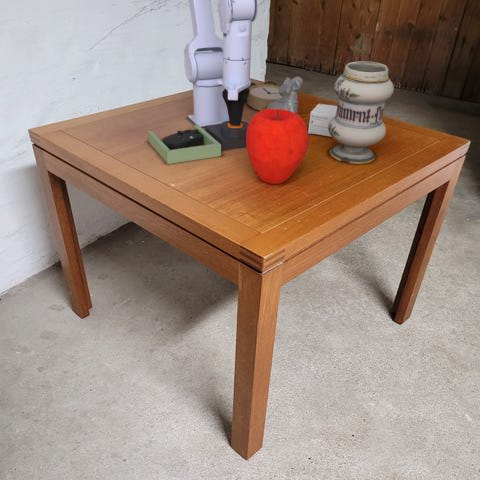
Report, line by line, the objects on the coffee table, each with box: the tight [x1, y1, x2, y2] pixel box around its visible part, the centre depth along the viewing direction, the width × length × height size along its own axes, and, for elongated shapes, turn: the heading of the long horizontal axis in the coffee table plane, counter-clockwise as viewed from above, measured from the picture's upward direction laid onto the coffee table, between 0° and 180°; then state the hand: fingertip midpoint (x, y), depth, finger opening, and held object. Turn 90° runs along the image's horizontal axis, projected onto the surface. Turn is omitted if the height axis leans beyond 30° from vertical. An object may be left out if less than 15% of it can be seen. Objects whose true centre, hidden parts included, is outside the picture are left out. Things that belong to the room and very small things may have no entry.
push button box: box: [204, 120, 250, 151], centre depth 115 cm, size 10×9×4 cm
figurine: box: [267, 76, 304, 116], centre depth 123 cm, size 8×10×11 cm
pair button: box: [227, 123, 243, 128], centre depth 113 cm, size 4×4×2 cm
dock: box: [147, 124, 222, 165], centre depth 111 cm, size 12×14×2 cm
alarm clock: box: [246, 80, 283, 111], centre depth 138 cm, size 11×5×15 cm
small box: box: [307, 103, 337, 138], centre depth 121 cm, size 8×8×5 cm
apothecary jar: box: [328, 60, 395, 165], centre depth 106 cm, size 12×12×18 cm
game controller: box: [160, 129, 204, 150], centre depth 112 cm, size 10×5×6 cm
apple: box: [245, 109, 310, 185], centre depth 96 cm, size 12×12×13 cm
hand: (235, 124), depth 113 cm, fingers closed, pressing on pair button
